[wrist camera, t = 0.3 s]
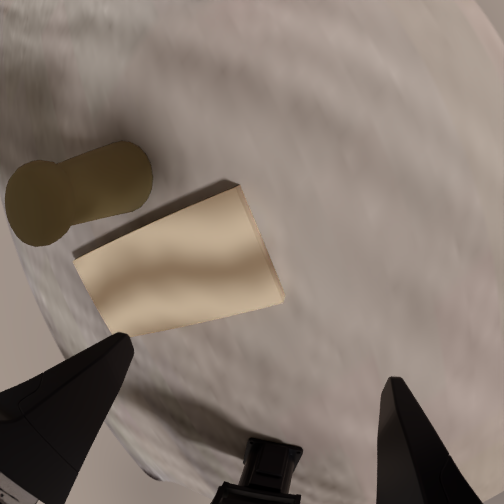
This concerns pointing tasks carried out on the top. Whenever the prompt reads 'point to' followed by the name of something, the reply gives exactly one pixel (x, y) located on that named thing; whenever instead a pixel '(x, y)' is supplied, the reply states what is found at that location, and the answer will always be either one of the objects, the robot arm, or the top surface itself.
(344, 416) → the top surface
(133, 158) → the cork
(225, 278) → the birch board
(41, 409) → the robot arm
